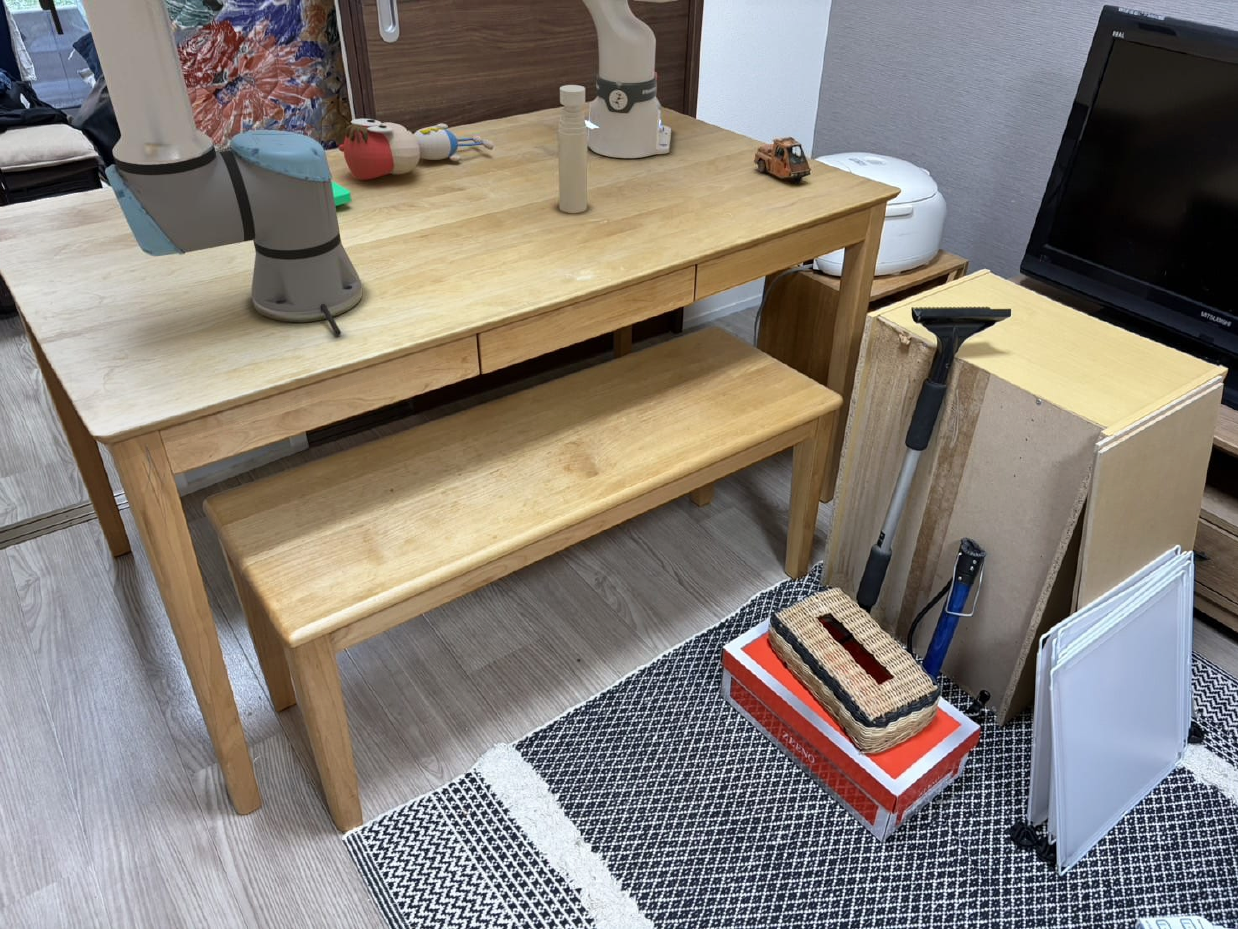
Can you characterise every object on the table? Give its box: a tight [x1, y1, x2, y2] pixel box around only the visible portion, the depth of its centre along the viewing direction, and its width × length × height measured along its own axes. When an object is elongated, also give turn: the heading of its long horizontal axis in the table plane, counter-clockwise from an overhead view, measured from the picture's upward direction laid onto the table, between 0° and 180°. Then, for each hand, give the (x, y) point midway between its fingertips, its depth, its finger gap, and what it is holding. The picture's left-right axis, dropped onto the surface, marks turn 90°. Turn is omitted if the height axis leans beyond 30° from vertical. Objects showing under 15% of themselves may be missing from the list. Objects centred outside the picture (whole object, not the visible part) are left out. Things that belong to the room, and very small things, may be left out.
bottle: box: [557, 105, 588, 214], centre depth 159 cm, size 5×5×20 cm
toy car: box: [753, 136, 812, 184], centre depth 179 cm, size 6×12×7 cm, turn 39°
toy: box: [338, 118, 494, 181], centre depth 178 cm, size 18×10×30 cm
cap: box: [559, 84, 586, 106], centre depth 154 cm, size 4×4×2 cm
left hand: (108, 29), depth 146 cm, fingers open, 13 cm apart
